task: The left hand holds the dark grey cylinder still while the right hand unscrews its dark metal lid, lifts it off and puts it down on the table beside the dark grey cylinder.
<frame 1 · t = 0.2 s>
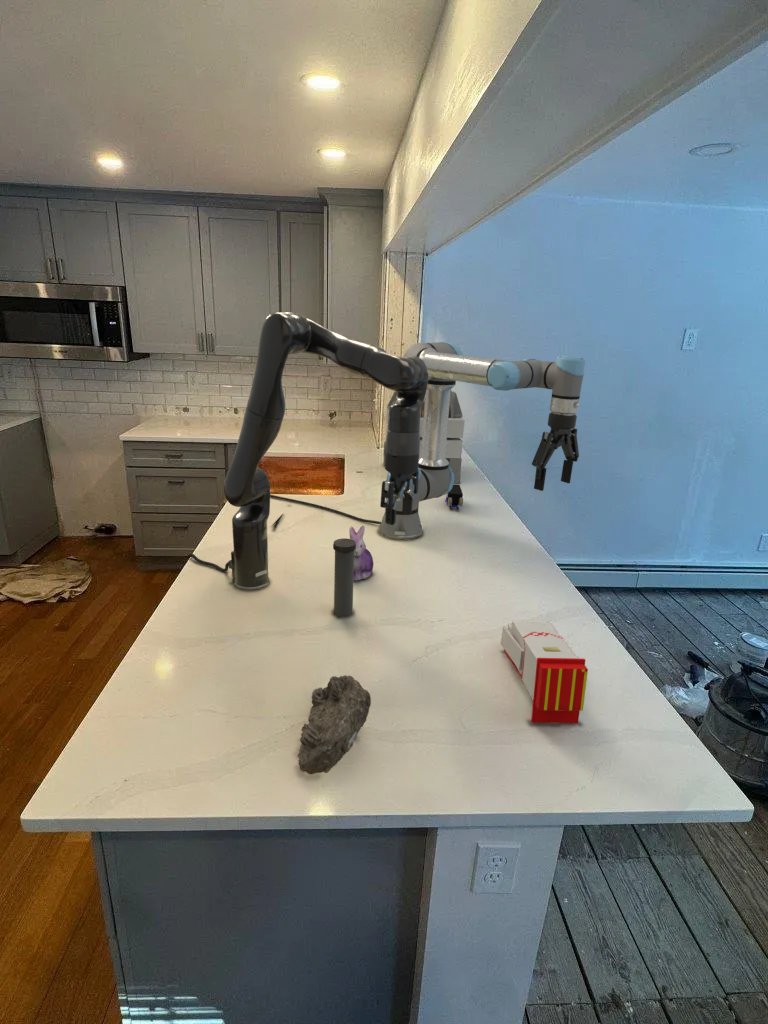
left hand: (398, 518, 131), 29 cm above the counter, tool pointing down, fingers open, 8 cm apart
right hand: (552, 485, 166), 28 cm above the counter, tool pointing down, fingers open, 13 cm apart
fossil: (335, 735, 105), on the counter
figurine character: (452, 506, 231), on the counter
figurine: (358, 574, 168), on the counter
dark tapered rod: (281, 517, 210), on the counter
toy: (534, 680, 123), on the counter
lid: (344, 543, 141), point 19 cm above the counter, screwed on, not yet turned
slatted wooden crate: (419, 473, 275), on the counter
dark grey cylinder: (343, 612, 147), on the counter
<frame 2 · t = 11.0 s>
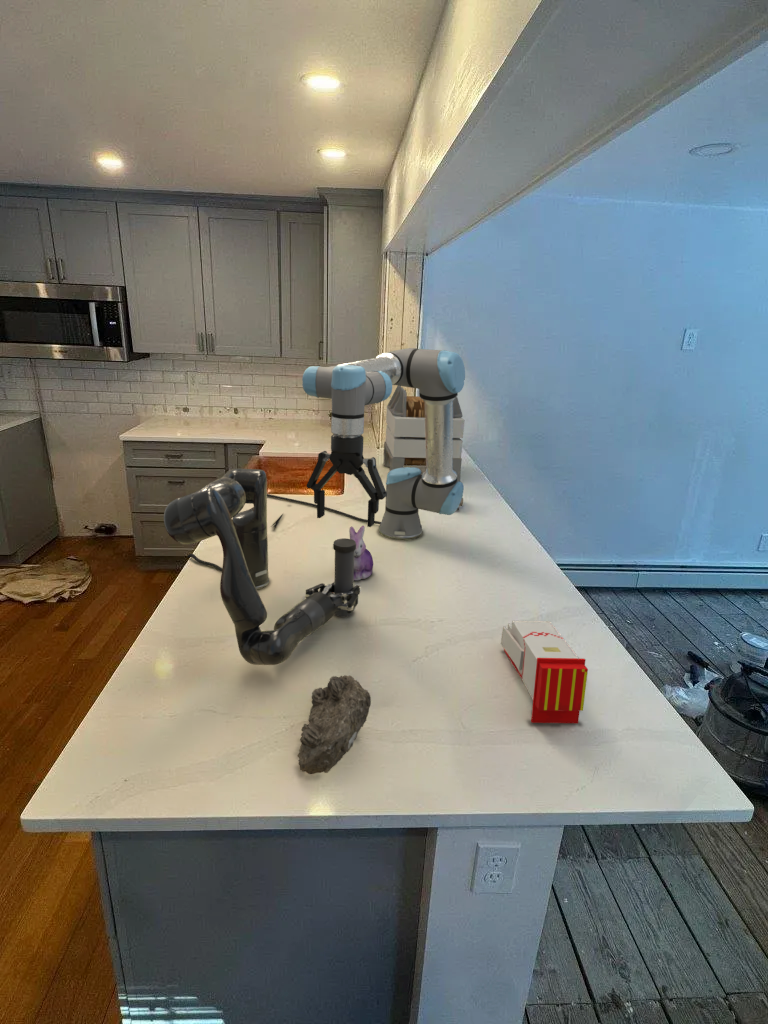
left hand: (349, 586, 147), 7 cm above the counter, tool horizontal, fingers closed on dark grey cylinder, 5 cm apart
right hand: (345, 520, 138), 25 cm above the counter, tool pointing down, fingers open, 13 cm apart
dark grey cylinder: (343, 612, 147), on the counter, touching left hand
everything else where it was.
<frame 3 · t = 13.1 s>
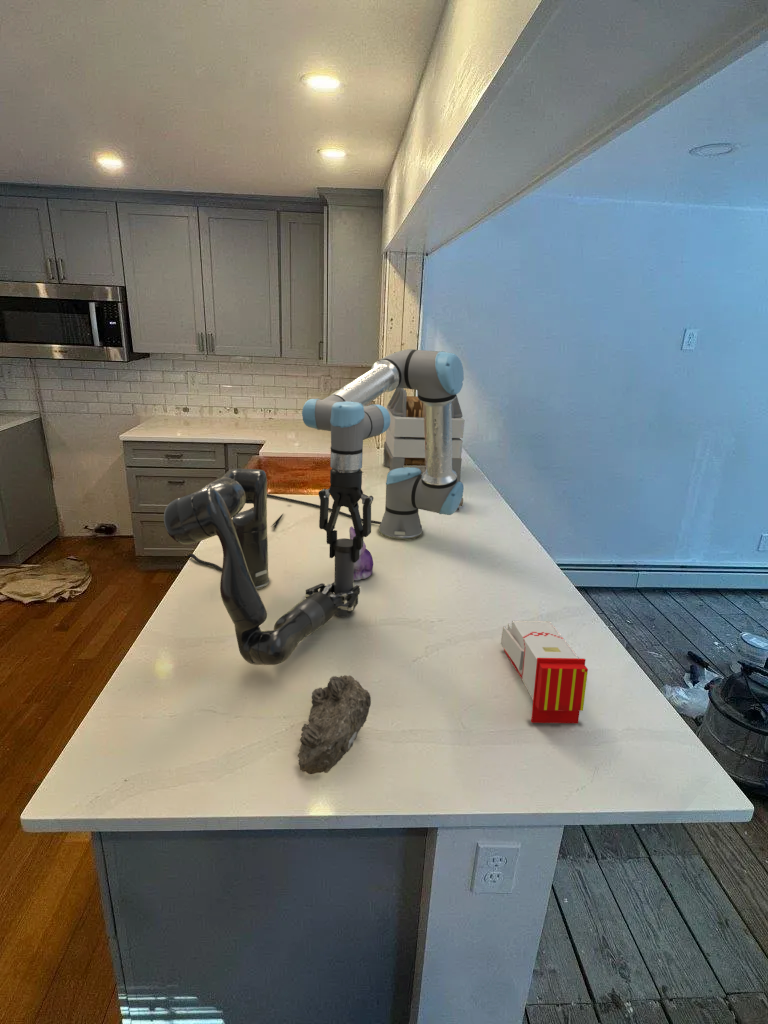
left hand: (349, 586, 147), 7 cm above the counter, tool horizontal, fingers closed on dark grey cylinder, 5 cm apart
right hand: (344, 558, 142), 15 cm above the counter, tool pointing down, fingers closed on lid, 5 cm apart
lid: (344, 543, 141), point 19 cm above the counter, screwed on, not yet turned, touching right hand
dark grey cylinder: (343, 612, 147), on the counter, touching left hand
everything else where it was.
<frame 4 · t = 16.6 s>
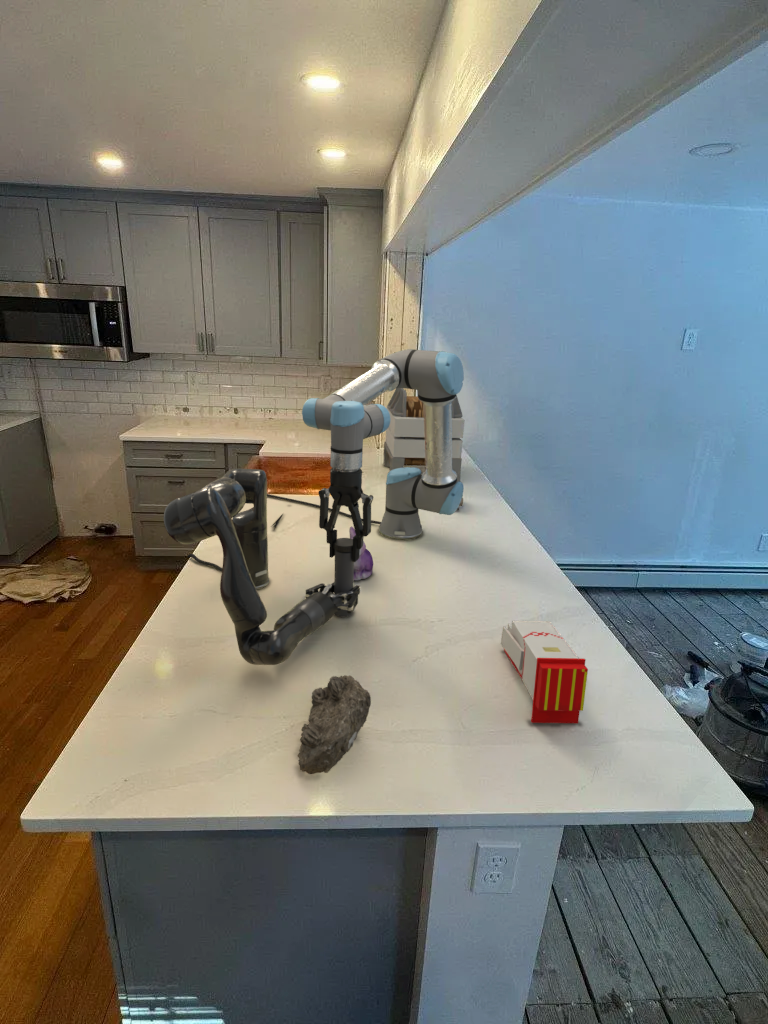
left hand: (348, 586, 147), 7 cm above the counter, tool horizontal, fingers closed on dark grey cylinder, 5 cm apart
right hand: (344, 557, 142), 16 cm above the counter, tool pointing down, fingers closed on lid, 5 cm apart
lid: (344, 543, 140), point 19 cm above the counter, turned 128° so far, risen 0.2 cm, still on its thread, touching right hand
dark grey cylinder: (343, 612, 147), on the counter, touching left hand
everything else where it was.
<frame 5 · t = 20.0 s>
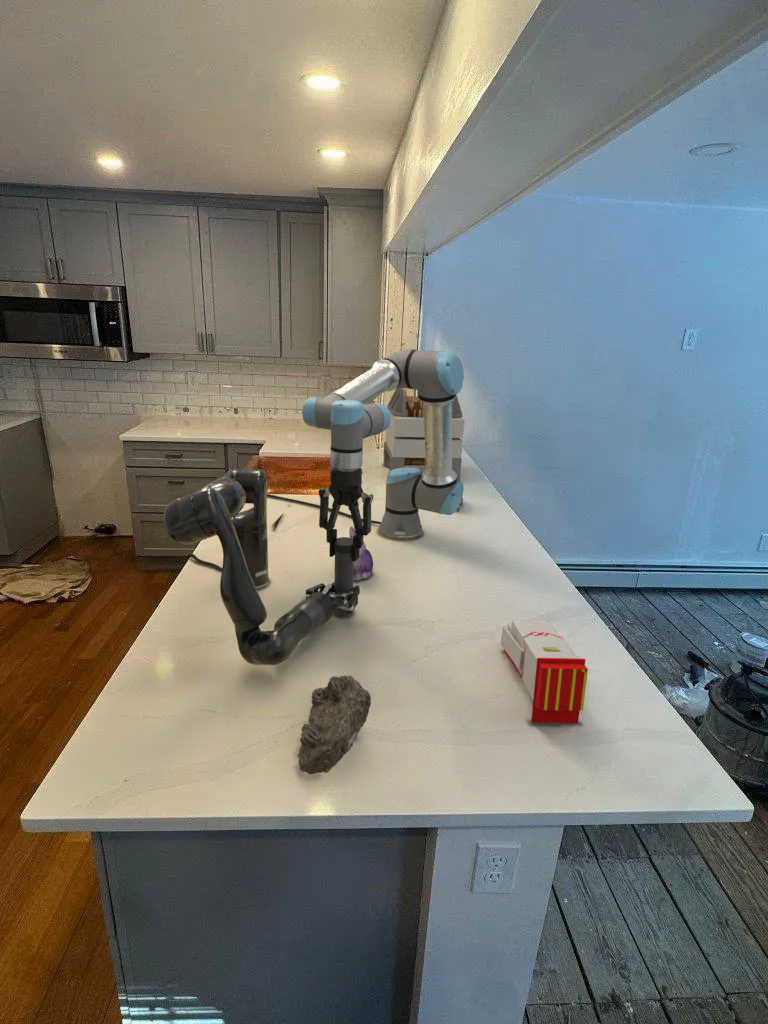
left hand: (348, 586, 147), 7 cm above the counter, tool horizontal, fingers closed on dark grey cylinder, 5 cm apart
right hand: (344, 556, 142), 16 cm above the counter, tool pointing down, fingers closed on lid, 5 cm apart
lid: (344, 542, 140), point 20 cm above the counter, turned 256° so far, risen 0.3 cm, still on its thread, touching right hand
dark grey cylinder: (343, 612, 147), on the counter, touching left hand
everything else where it was.
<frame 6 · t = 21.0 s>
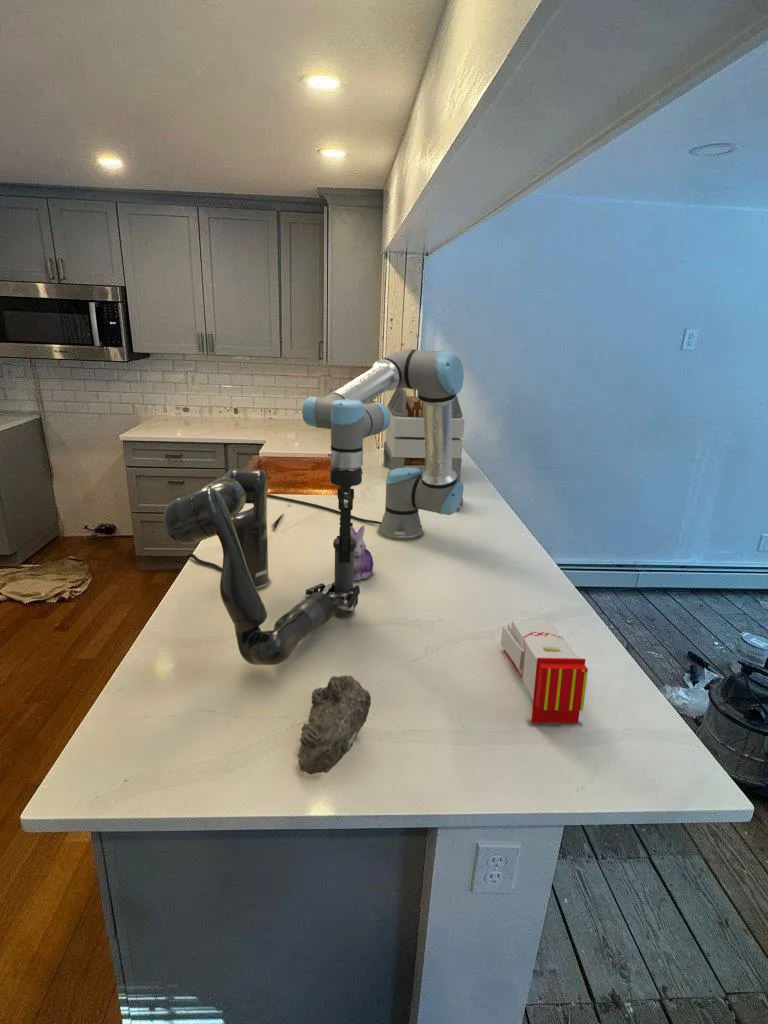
left hand: (348, 586, 147), 7 cm above the counter, tool horizontal, fingers closed on dark grey cylinder, 5 cm apart
right hand: (344, 556, 142), 16 cm above the counter, tool pointing down, fingers closed on lid, 5 cm apart
lid: (344, 542, 140), point 20 cm above the counter, off its thread, touching right hand
dark grey cylinder: (343, 612, 147), on the counter, touching left hand
everything else where it was.
when the right hand's fingers open (0 cm above the counter, at t = 26.2 s): lid drops 3 cm, point 1 cm above the counter.
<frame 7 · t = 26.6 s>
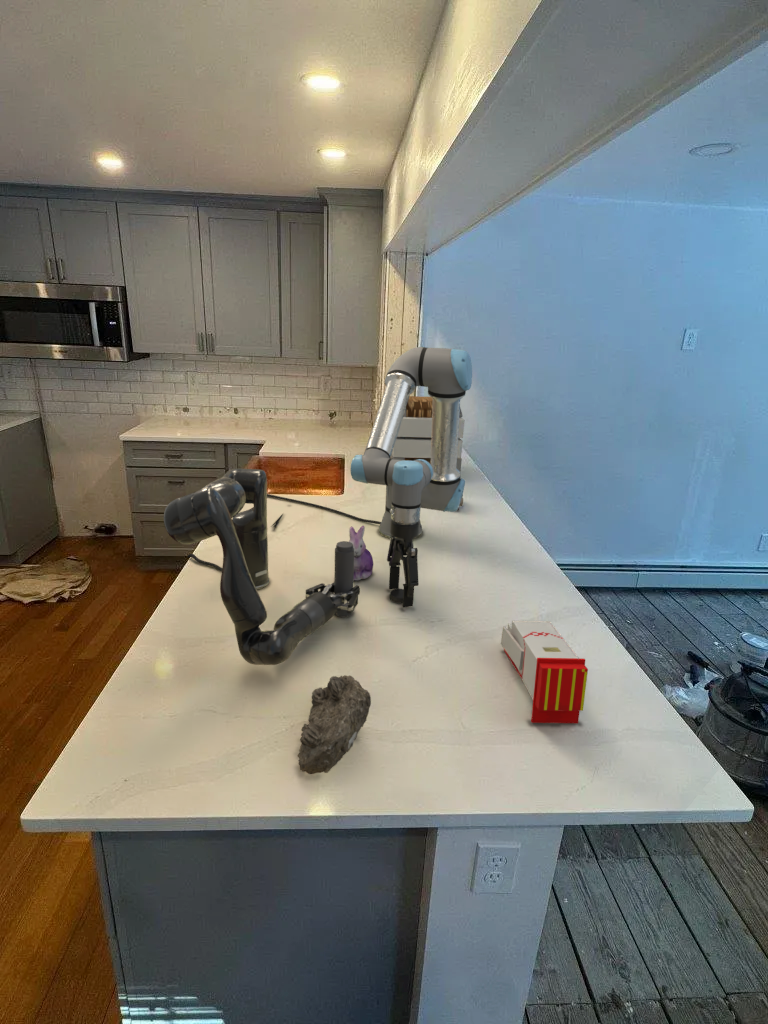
left hand: (349, 586, 147), 7 cm above the counter, tool horizontal, fingers closed on dark grey cylinder, 5 cm apart
right hand: (400, 597, 155), 1 cm above the counter, tool pointing down, fingers open, 10 cm apart
lid: (400, 594, 155), point 1 cm above the counter, off its thread
dark grey cylinder: (343, 612, 147), on the counter, touching left hand
everything else where it was.
when the left hand's fingers open (7 cm above the counter, at t = 27.4 s): dark grey cylinder stays where it is, on the counter.
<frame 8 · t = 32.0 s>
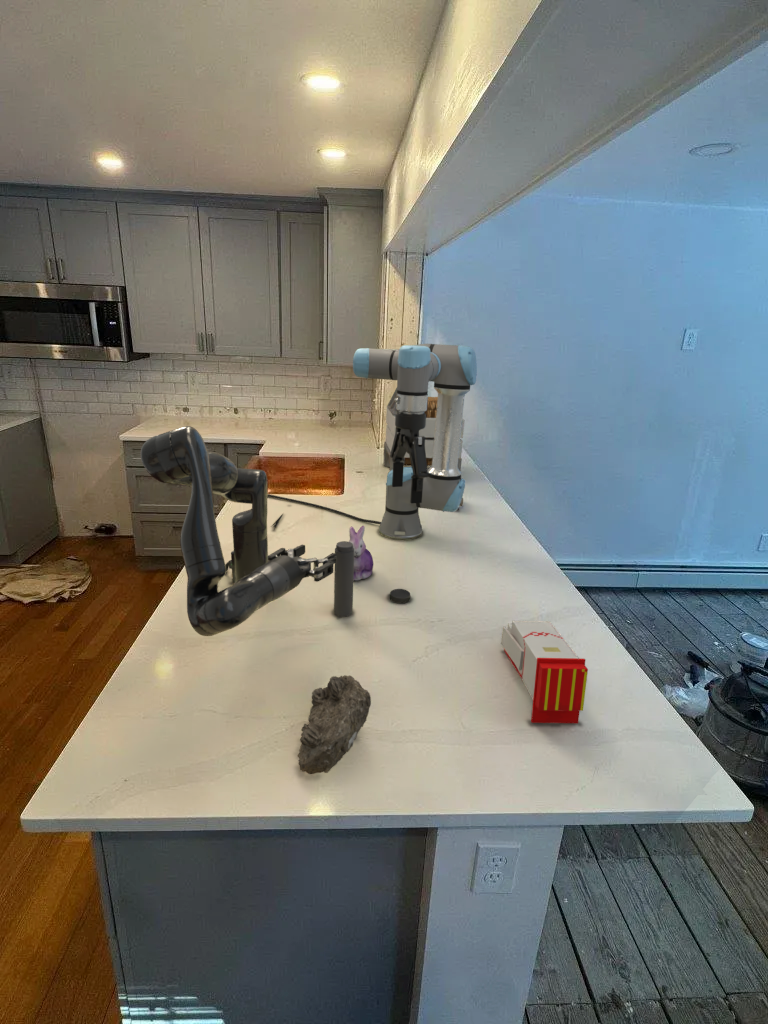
left hand: (319, 552, 131), 21 cm above the counter, tool horizontal, fingers open, 8 cm apart
right hand: (406, 494, 146), 30 cm above the counter, tool pointing down, fingers open, 13 cm apart
dark grey cylinder: (343, 612, 147), on the counter
everything else where it was.
at the end: lid came off its thread; lid point 1.2 cm above the counter; the left hand is holding nothing; the right hand is holding nothing; dark grey cylinder tilted 0°; dark grey cylinder moved 0.0 cm from its start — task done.
